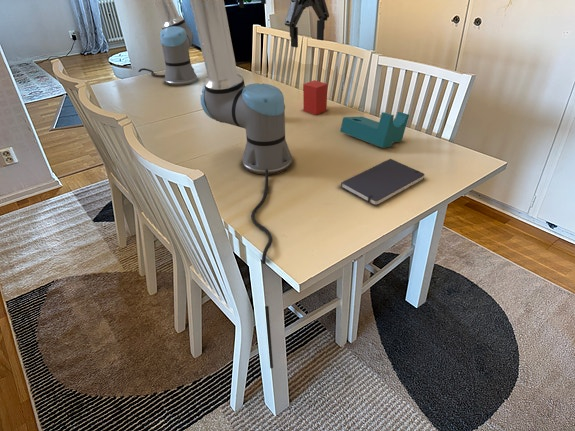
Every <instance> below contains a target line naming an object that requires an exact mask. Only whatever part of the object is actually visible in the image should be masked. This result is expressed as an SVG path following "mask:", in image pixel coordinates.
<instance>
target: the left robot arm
mask: <svg viewBox="0 0 575 431" xmlns="http://www.w3.org/2000/svg"><path fill="white" fill-rule="evenodd" d="M151 2H152V3H153V5H154V7H155V9H156V12H157V14H158V16H159V19H160V20H161V22H162V24H161V30H160V32H159V40H160V44H161V49H162V53H163V59H164V63H165V72H164V74H154V70H153V69H150V68H140V69H139V70H138V71H137V72H138V73H141V72H143V71H146V72H150V75H151V76H153V77H156V78H164V83H165V85H167V86H170V87H171V86H172V87H183V86H189V85H192V84H195V83H196V82H197V81H198V75H197V73H196V72H195V68H194V67H193V65H192V63H191V62H192V61H191V57H190V49H191V47H192V46H193V43H194V34H193V31H192V29H191V28H190V27H189V26H188V24H187V22H186V20H185V18H184V17H183V16H180V14H179V12H178V10H177V7H176V5H175V3H174V1H173V0H151ZM260 4H262V5H267V0H260ZM238 7H239V8H241V9H245V0H238Z"/></svg>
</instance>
